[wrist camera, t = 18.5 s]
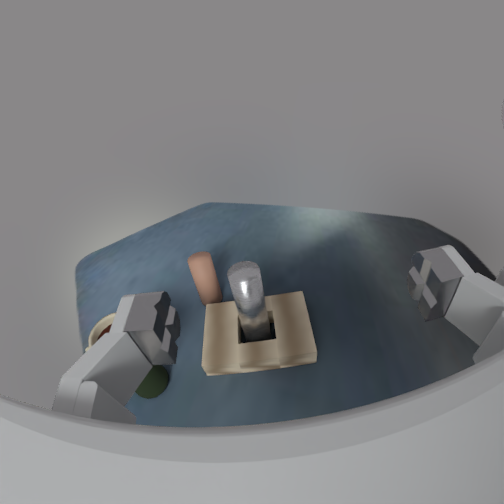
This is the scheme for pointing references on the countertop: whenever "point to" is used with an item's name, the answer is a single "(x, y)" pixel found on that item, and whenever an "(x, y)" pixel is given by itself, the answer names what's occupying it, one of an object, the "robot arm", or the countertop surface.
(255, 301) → the steel pin
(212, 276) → the terracotta pin
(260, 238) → the countertop surface
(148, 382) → the character mug
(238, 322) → the hole plate
